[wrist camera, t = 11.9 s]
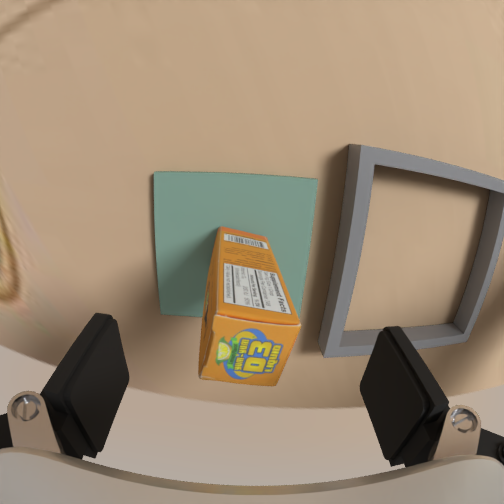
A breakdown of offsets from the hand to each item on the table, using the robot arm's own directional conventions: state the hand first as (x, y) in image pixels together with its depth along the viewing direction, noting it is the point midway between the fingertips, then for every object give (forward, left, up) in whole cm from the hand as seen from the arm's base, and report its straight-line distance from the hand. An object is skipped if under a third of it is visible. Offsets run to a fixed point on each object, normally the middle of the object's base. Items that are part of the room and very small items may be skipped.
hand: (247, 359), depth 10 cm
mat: (+1, 0, -11) cm, 11 cm away
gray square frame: (-14, 0, -11) cm, 17 cm away
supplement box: (0, 0, -10) cm, 10 cm away
